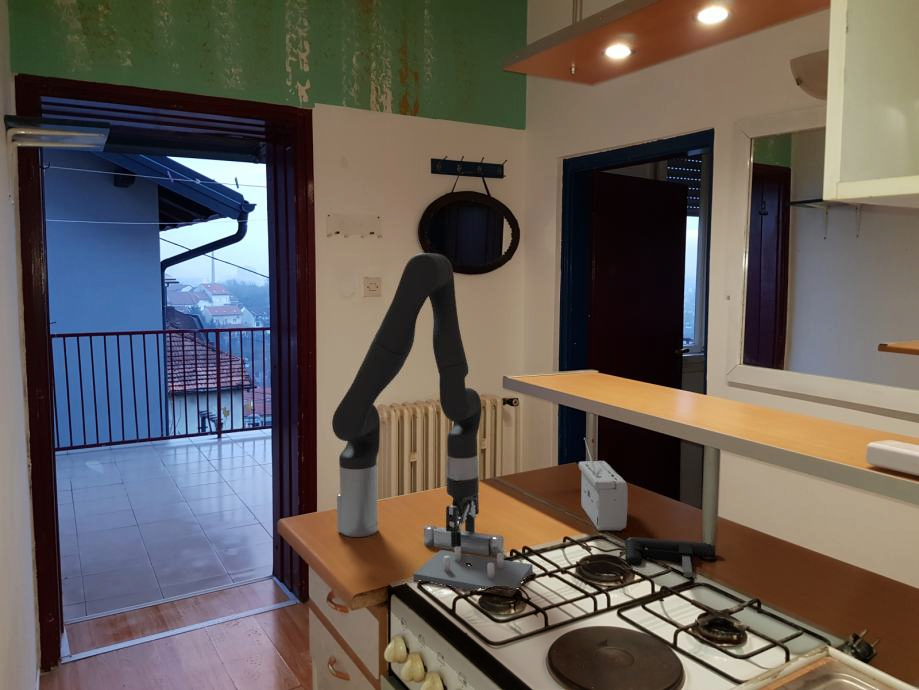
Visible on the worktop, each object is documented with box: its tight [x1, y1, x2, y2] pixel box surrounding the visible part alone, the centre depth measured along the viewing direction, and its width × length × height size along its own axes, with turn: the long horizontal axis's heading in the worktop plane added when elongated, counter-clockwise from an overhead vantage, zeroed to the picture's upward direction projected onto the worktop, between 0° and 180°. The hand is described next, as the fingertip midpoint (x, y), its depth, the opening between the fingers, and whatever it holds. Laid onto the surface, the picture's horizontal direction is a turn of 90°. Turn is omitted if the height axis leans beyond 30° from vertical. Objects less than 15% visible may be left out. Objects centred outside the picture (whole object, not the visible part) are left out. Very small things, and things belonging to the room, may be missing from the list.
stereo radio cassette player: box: [578, 437, 628, 532], centre depth 185 cm, size 21×8×20 cm, turn 3°
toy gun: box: [624, 536, 716, 578], centre depth 158 cm, size 3×20×16 cm
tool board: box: [412, 546, 534, 592], centre depth 151 cm, size 22×14×4 cm, turn 67°
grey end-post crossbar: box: [423, 525, 505, 558], centre depth 166 cm, size 20×3×4 cm, turn 67°
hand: (463, 540), depth 166 cm, fingers open, 8 cm apart
